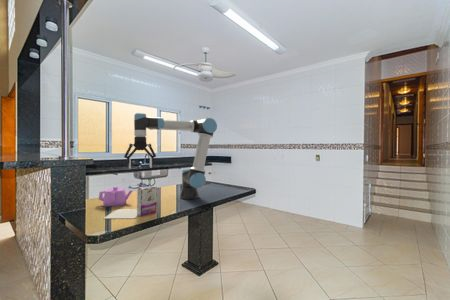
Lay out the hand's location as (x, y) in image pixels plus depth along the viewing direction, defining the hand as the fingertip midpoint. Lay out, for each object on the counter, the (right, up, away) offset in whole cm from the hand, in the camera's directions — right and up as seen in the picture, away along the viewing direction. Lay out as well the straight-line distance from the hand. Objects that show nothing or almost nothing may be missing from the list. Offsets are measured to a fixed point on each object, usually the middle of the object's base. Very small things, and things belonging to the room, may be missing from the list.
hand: (140, 167), depth 151 cm
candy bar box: (+9, -28, -13) cm, 32 cm away
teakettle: (-22, -27, +11) cm, 36 cm away
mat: (-4, -27, -13) cm, 31 cm away
